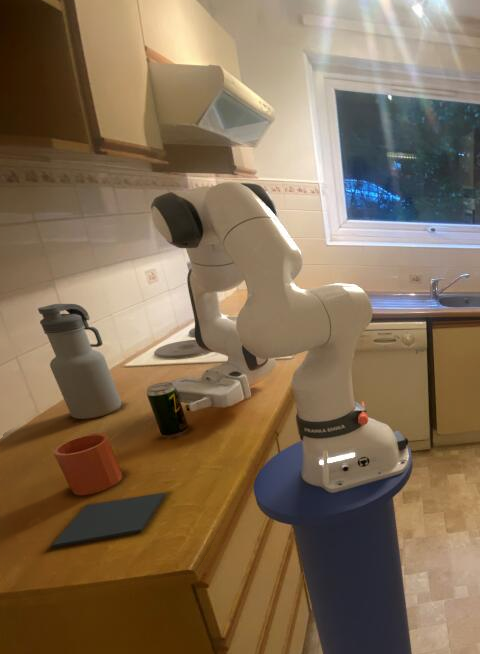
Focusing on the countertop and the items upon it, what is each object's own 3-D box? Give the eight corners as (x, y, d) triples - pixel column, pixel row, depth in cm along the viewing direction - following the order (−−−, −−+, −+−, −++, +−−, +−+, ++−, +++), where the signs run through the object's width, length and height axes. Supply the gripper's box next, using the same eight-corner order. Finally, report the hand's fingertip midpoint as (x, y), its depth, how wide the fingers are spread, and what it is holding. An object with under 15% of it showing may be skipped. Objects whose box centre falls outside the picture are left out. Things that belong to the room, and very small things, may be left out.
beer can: (158, 440, 100) (141, 393, 95) (164, 429, 104) (148, 384, 100) (186, 435, 102) (171, 389, 97) (191, 424, 106) (177, 380, 102)
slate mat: (165, 495, 82) (164, 492, 82) (141, 532, 73) (140, 529, 73) (87, 507, 79) (86, 504, 78) (52, 548, 70) (51, 545, 70)
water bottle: (96, 401, 117) (55, 300, 106) (133, 401, 117) (96, 300, 106) (60, 420, 108) (12, 311, 97) (100, 420, 108) (56, 311, 97)
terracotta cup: (129, 469, 89) (114, 431, 86) (111, 491, 83) (94, 451, 79) (85, 475, 87) (68, 437, 84) (63, 498, 81) (43, 458, 77)
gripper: (186, 367, 115) (132, 389, 102) (250, 375, 110) (203, 398, 98) (192, 389, 117) (141, 413, 105) (256, 397, 113) (210, 423, 100)
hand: (172, 406), depth 101 cm, fingers open, 8 cm apart
